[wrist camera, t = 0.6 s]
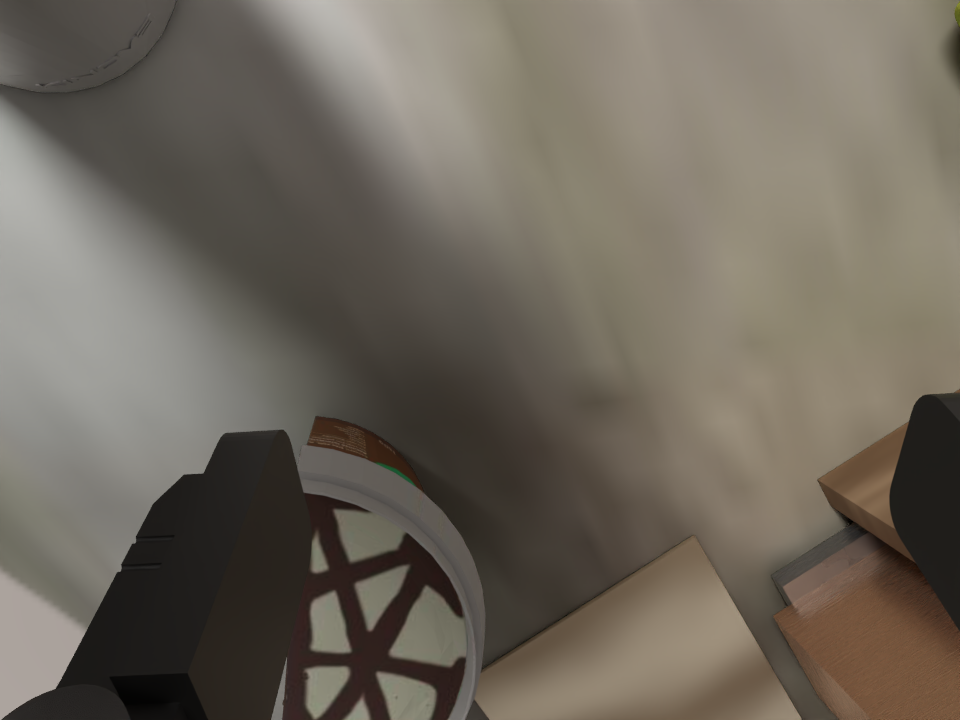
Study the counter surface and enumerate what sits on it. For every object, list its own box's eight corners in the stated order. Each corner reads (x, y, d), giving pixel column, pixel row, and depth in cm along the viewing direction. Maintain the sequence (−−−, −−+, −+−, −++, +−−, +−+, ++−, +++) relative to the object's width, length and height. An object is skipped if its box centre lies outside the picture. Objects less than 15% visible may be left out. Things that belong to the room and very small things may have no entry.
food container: (439, 665, 33) (469, 860, 23) (295, 662, 32) (263, 864, 22) (473, 392, 31) (523, 484, 21) (318, 379, 30) (295, 469, 20)
